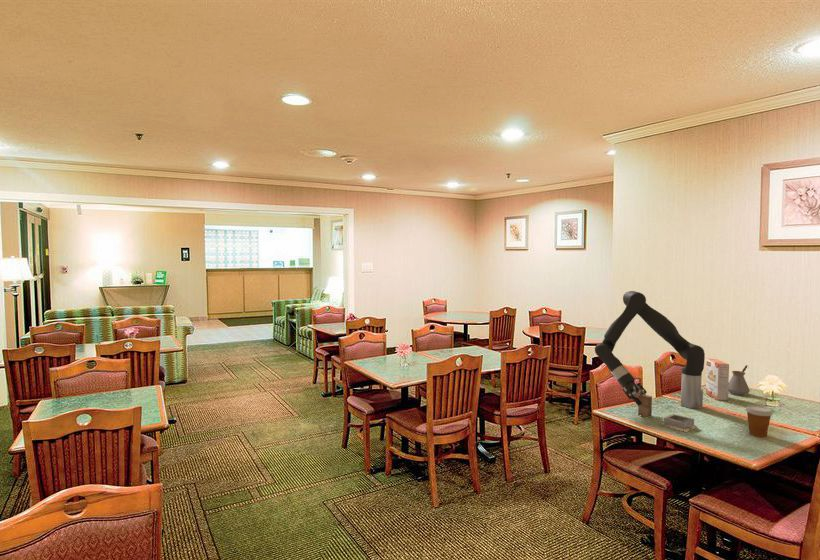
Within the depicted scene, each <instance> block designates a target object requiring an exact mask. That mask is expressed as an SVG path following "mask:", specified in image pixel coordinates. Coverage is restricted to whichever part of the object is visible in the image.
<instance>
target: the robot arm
mask: <svg viewBox="0 0 820 560" xmlns="http://www.w3.org/2000/svg"><path fill="white" fill-rule="evenodd" d="M622 302H623V304H624V305H625V306H626V307H625V308H624V310H623V312H622V313H620V315H619V316H618V317H617V318H616V319H615V320H614V321H613V322H612V323H611V324H610V326H609V327H608V329H607V330H606V331H605V333H604V338H603V340H602V342H601V343H597V344H596V345H595V347H594V353H595V355H596V356H597V357H598V358H599V359H600V360H601V361H602V362H603V363H604V364H605V366H606V368H608V369H609V370H608V371H610V373H611V374H612V376H613V377H614V379H615V380H616V381H617V383H619V385H620V386H621V387H622V391H623V392H624V394H625V395H626V397H627V398H628V399H629V400H632V401H633V402H634V403H635V404H636V405H637V406H640V405H641V404H642V403H641V401H640V400H639V397H637V395H638V396H639V395H642V394H644V395H647V393H648V392H647V390H646V389H645V388H644V386H643V385H641V383H640V382H638V383H636V382H635V381H636V378H635V377H634V376H633V375H632V373H631V372H630V371H629V370H628V369H627V368H626V367H625V365H624V364H623V363H622V362H621V360H620V359H619V358H618V357H616V355H614V353H613V352H614V349H615V347H616V345H617V342H618V341H619V339H620V337H621V336H622V334H623V333H624V332H625V330H626V329H627V327H628V325H629V324H630V323H631V322H632V321H633V320H634V318H635V317H636V316H637V315H638V316H639V317H640V318H641V319H642V320H643V321H644V322H645V323H646V324H647V326H649V327H650V329H652V331H654V332H655V333H656V334H657V335H658V336H660V337H661V338H662V339H663V340H664V341H666V342H667V344H669V345H670V346H671V347H672V348H673V349H674V350H675V352H677V354H678V355H679V356H680V357H681V358H682V359H684V360H685V361H686V364H685V366H684V367H682V368H681V379H680V380H681V387H680V389H681V390H680V405H681V406H682V407H685V408H688V409H702V408H703V403H704V402H703V401H704V399H703V398H704V389H702V381H703V380H702V379H703V378H702V377H703V370H704V368H705V358H706V357H705V350H704V348H703V347H701V346H700V345H697V344H695V343H691V342H689V340H686V339H685V338H684V337H683V336H682V335H681V334H680V331H678V329H677V327H676V326H675V324H674V323H673V322H672V321H671V320H670V319H668V317H666V316H665V315H664V314H663V313H660V311H658V310H657V309H654V308H653V307H651V306H650V305H649V304H648V303H647V299H646V295H644V294H643V293H642V292H639V291H635V290H630V291H626V292H625V293H624V294H623V295H622Z"/></svg>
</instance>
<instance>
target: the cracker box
mask: <svg viewBox="0 0 820 560" xmlns="http://www.w3.org/2000/svg"><path fill="white" fill-rule="evenodd" d="M705 371H706V372H705V375H706V377H705V378H706V379H705V394H706V395H708V396H709V397H711V398H713V399H714V400H716V401H725V402H727V401H729V391H728V385H729V381H730V378H729V377H730V374H729V373H730V364H729V363H727V362H724V361H722V360H721V359H720V360H719V359H718V358H706V369H705Z"/></svg>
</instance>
